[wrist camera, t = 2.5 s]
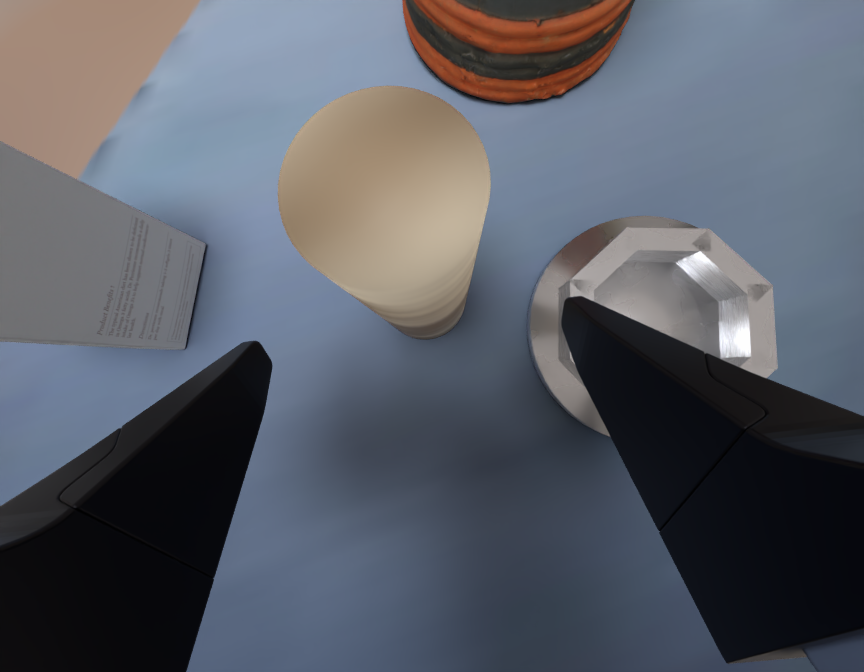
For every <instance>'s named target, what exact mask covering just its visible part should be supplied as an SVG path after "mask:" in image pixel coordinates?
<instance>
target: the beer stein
mask: <svg viewBox="0 0 864 672" xmlns="http://www.w3.org/2000/svg"><path fill="white" fill-rule="evenodd" d="M634 1H635V0H403V13H404V18H405V23H406V27H407V31H408V33H409V36H410V39H411V41H412V43H413V45H414V47H415V48H416V50H417V52H418V53H419V55H420V56H421V58H422V59H423V60H424V62H425V63H426V65H427V66H428V67H429V68H430V69H431V70H432V71H434V72H435V74H436V75H437V76H438V77H439V78H440V80H442V81H443V82H445V83H446V84H447V85H449V86H451V87H453V88H456V89H458V90H460V91H462V92H463V93H467V94H470V95H473V96H476V97H480V98H482V99H485V100H490V101H498V102H504V103H514V102H515V103H517V102H524V101H528V100H533V99H545V98H548V97H551V96H552V95H555V96H556V95H562V94H563V93H565V92H566V91H567V89H571V88H572V87H574V86H576V85H577V84H578V83H579V82H581V81H582V80H584V79H586V78H588V77H590V76H591V75H592V74H593V73H594V72H595V71H596V70H598V69H599V67H600V66H601V64H602V63H603V62H604V61H605V59H606V58H607V57H608V56H609V54H610V52H611V51H612V49H613V47H614V45H615V44H616V42H617V40H618V39H619V37H620V35H621V32H622V29H623V28H624V26H625V24H626V22H627V21H628V19H629V16H630V11H631V8H632V6H633V3H634Z"/></svg>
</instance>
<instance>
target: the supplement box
mask: <svg viewBox="0 0 864 672" xmlns="http://www.w3.org/2000/svg"><path fill="white" fill-rule="evenodd" d="M205 246H206V245H205V243H203V242H201V241H199V240H197V239H195V238H193V237H191V236H189V235H187V234H185V233H183V232H181V231H179V230H177V229H175V228H173V227H171V226H169V225H167V224H165V223H163V222H161V221H159V220H157V219H155V218H153V217H151V216H149V215H147V214H145V213H143V212H141V211H139V210H137V209H135V208H133V207H131V206H129V205H127V204H125V203H123V202H121V201H119V200H117V199H115V198H113V197H111V196H109V195H107V194H105V193H103V192H101V191H99V190H97V189H95V188H93V187H91V186H89V185H87V184H85V183H83V182H81V181H79V180H77V179H75V178H73V177H71V176H69V175H67V174H65V173H63V172H61V171H59V170H57V169H55V168H53V167H51V166H49V165H47V164H45V163H43V162H41V161H39V160H37V159H35V158H33V157H31V156H29V155H27V154H25V153H23V152H21V151H19V150H17V149H15V148H13V147H11V146H9V145H7V144H5V143H3V142H1V141H0V341H1V342H20V343H39V344H56V345H77V346H96V347H117V348H140V349H166V350H183V349H185V346H186V341H187V335H188V330H189V325H190V320H191V315H192V310H193V305H194V300H195V295H196V290H197V285H198V280H199V275H200V271H201V266H202V261H203V255H204V251H205Z"/></svg>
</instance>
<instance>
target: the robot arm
mask: <svg viewBox="0 0 864 672" xmlns="http://www.w3.org/2000/svg"><path fill="white" fill-rule="evenodd" d="M561 326H562V330H563V333H564V336H565V338H566V341H567V344H568V347H569V349H570V352H571V355H572V358H573V361H574V363H575V366H576V369H577V371H578V373H579V376H580V378H581V380H582V382H583V384H584V386H585V388H586V390H587V391H588V393H589V395H590V397H591V399H592V401H593V403H594V405H595V407H596V409H597V411H598V413H599V415H600V417H601V419H602V421H603V423H604V425H605V427H606V429H607V431H608V433H609V435H610V437H611V439H612V441H613V443H614V445H615V446H616V448H617V450H618V452H619V454H620V456H621V458H622V460H623V462H624V464H625V466H626V468H627V470H628V472H629V474H630V476H631V478H632V480H633V482H634V484H635V486H636V488H637V490H638V492H639V494H640V496H641V498H642V499H643V501H644V503H645V505H646V507H647V509H648V511H649V513H650V515H651V517H652V519H653V521H654V523H655V525H656V527H657V529H658V530H659V531H660V532H659V533H660V535H661V537H662V539H663V541H664V543H665V545H666V547H667V549H668V551H669V553H670V555H671V557H672V559H673V561H674V563H675V565H676V567H677V569H678V571H679V573H680V575H681V577H682V578H683V580H684V582H685V584H686V586H687V588H688V590H689V592H690V594H691V596H692V598H693V600H694V602H695V604H696V606H697V608H698V610H699V612H700V614H701V616H702V618H703V620H704V622H705V624H706V626H707V628H708V630H709V632H710V633H711V635H712V637H713V639H714V641H715V643H716V645H717V647H718V649H719V651H720V653H721V655H722V656H723V658H724V660H725V661H726V663H728V664H731V663H743V662H754V661H766V660H777V659H789V658H800V657H807V658H808V659H809V661H810V662H811V663H812V665H813V666H814V668H815V669H816V671H817V672H864V416H862V415H859V414H856V413H854V412H851V411H849V410H846V409H844V408H841V407H838V406H836V405H833V404H831V403H828V402H826V401H823V400H820V399H818V398H815V397H813V396H810V395H808V394H805V393H802V392H800V391H797V390H795V389H792V388H790V387H787V386H784V385H782V384H779V383H777V382H774V381H772V380H769V379H767V378H764V377H762V376H759V375H757V374H754V373H752V372H749V371H747V370H745V369H743V368H740V367H738V366H736V365H733V364H731V363H729V362H726V361H724V360H722V359H720V358H718V357H715V356H713V355H711V354H709V353H704V351H702V350H700V349H698V348H695V347H693V346H691V345H689V344H687V343H684V342H682V341H680V340H678V339H676V338H673V337H671V336H669V335H667V334H665V333H662V332H660V331H658V330H656V329H653V328H651V327H649V326H647V325H645V324H642V323H640V322H638V321H636V320H634V319H631V318H629V317H627V316H625V315H623V314H620V313H618V312H616V311H614V310H612V309H609V308H607V307H605V306H603V305H601V304H598V303H596V302H594V301H592V300H589V299H587V298H585V297H583V296H574V297H568V298H566V299H565V301H564V307H563V313H562V319H561ZM271 372H272V362H271V359H270V358H269V356H268V355H267V353H266V351H265V350H264V348H263V347H262V345H261V344H260V343H259V342H258V341H249V342H243V343H241V344H240V345H238V346H237V347H235V348H234V349H232V350H231V351H230V352H228V353H227V354H225V355H224V356H222V357H221V358H219V359H218V360H217V361H215V362H214V363H212V364H211V365H209V366H208V367H207V368H205V369H204V370H202V371H201V372H199V373H198V374H196V375H195V376H194V377H192V378H191V379H189V380H188V381H186V382H185V383H184V384H182V385H181V386H179V387H178V388H176V389H175V390H173V391H172V392H171V393H169V394H168V395H166V396H165V397H163V398H162V399H161V400H159V401H158V402H156V403H155V404H153V405H152V406H150V407H149V408H148V409H146V410H145V411H143V412H142V413H140V414H139V415H138V416H136V417H135V418H133V419H132V420H130V421H129V422H128V423H126V424H125V425H123V426H122V428H119V429H117V430H116V431H114V432H113V433H112V434H110V435H109V436H107V437H106V438H104V439H103V440H101V441H100V442H99V443H97V444H96V445H94V446H93V447H91V448H90V449H88V450H87V451H85V452H84V453H82V454H81V455H79V456H78V457H76V458H75V459H73V460H72V461H70V462H69V463H67V464H66V465H64V466H63V467H61V468H59V469H58V470H56V471H55V472H53V473H52V474H50V475H49V476H47V477H46V478H44V479H42V480H41V481H39V482H38V483H36V484H35V485H33V486H31V487H30V488H28V489H27V490H25V491H24V492H22V493H20V494H19V495H17V496H16V497H14V498H13V499H11V500H9V501H8V502H6V503H5V504H3V505H2V506H0V672H186V671H187V667H188V664H189V661H190V657H191V654H192V651H193V647H194V644H195V641H196V637H197V634H198V631H199V628H200V624H201V621H202V618H203V614H204V611H205V608H206V604H207V601H208V598H209V594H210V591H211V588H212V584H213V581H214V579H213V578H214V577H215V574H216V571H217V567H218V564H219V561H220V557H221V554H222V551H223V547H224V544H225V541H226V537H227V534H228V531H229V527H230V524H231V521H232V518H233V514H234V511H235V508H236V504H237V501H238V498H239V494H240V491H241V488H242V484H243V481H244V478H245V474H246V471H247V468H248V465H249V461H250V458H251V455H252V451H253V448H254V445H255V441H256V438H257V435H258V431H259V428H260V425H261V421H262V418H263V414H264V410H265V406H266V400H267V395H268V389H269V384H270V378H271Z"/></svg>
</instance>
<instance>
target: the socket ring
mask: <svg viewBox="0 0 864 672" xmlns="http://www.w3.org/2000/svg"><path fill="white" fill-rule="evenodd" d="M574 296H583V297H585V298H587V299H589V300H592V301H594V302H596V303H598V304H601V305H603V306H605V307H607V308H609V309H612V310H614V311H616V312H618V313H620V314H623V315H625V316H627V317H629V318H631V319H634V320H636V321H638V322H640V323H642V324H645V325H647V326H649V327H651V328H653V329H656V330H658V331H660V332H662V333H665V334H667V335H669V336H671V337H673V338H676V339H678V340H680V341H682V342H684V343H687V344H689V345H691V346H693V347H695V348H698V349H700V350H702V351H704V353H709V354H711V355H713V356H715V357H718V358H720V359H722V360H724V361H726V362H729V363H731V364H733V365H736V366H738V367H740V368H743V369H745V370H747V371H749V372H752V373H754V374H757V375H759V376H762V377H764V378H767V377H768V376H769V375H770V374H771V373H772V372H773V371H775V370H776V369H778V366H777V350H776V334H775V318H774V302H773V285H772V284H770V283H769V282H768V281H767V280H766V279H765V278H764V277H762V276H761V275H760V274H759V273H758V272H757V271H756V270H755V269H754V268H752V267H751V266H750V265H749V264H748V263H747V262H746V261H745V260H744V259H742V258H741V257H740V256H739V255H738V254H737V253H736V252H735V251H733V250H732V249H731V248H730V247H729V246H728V245H727V244H726V243H725V242H723V241H722V240H721V239H720V238H719V237H718V236H717V235H716V234H714V233H713V232H712V231H711V230H710V229H709V228H708V229H699V228H697V227H695V226H693V225H690V224H687V223H684V222H681V221H678V220H674V219H668V218H663V217H653V216H635V217H626V218H620V219H615V220H612V221H609V222H605V223H602V224H600V225H598V226H595V227H593V228H591V229H589V230H587V231H585V232H584V233H582V234H580V235H579V236H577V237H576V238H574V239H573V240H572V241H571V242H569V243H568V244H567V245H566V246H565V247H564V248H563V249H562V250H561V251H560V252H559V253H558V254H557V255H556V256H555V257H554V258H553V259H552V260H551V261H550V263H549V264H548V265H547V267H546V268H545V270H544V271H543V272H542V274H541V276H540V278H539V280H538V281H537V283H536V285H535V288H534V291H533V293H532V296H531V299H530V304H529V308H528V315H527V340H528V345H529V351H530V355H531V358H532V361H533V364H534V367H535V369H536V371H537V373H538V375H539V378H540V380H541V381H542V383H543V384H544V386H545V388H546V389H547V391H548V392H549V394H550V395H551V396H552V397H553V398H554V399H555V401H556V402H557V403H558V404H559V405H560V406H561V407H562V408H563V409H564V410H565V411H566V412H567V413H569V414H570V415H571V416H572V417H574V418H575V419H577V420H578V421H579V422H581V423H582V424H584V425H586V426H588V427H590V428H591V429H593V430H595V431H597V432H600V433H602V434H604V435H607V436H609V437H610V435H609V433H608V431H607V429H606V427H605V425H604V423H603V421H602V419H601V417H600V415H599V413H598V411H597V409H596V407H595V405H594V403H593V401H592V399H591V397H590V395H589V393H588V391H587V390H586V388H585V386H584V384H583V382H582V380H581V378H580V376H579V373H578V371H577V369H576V366H575V363H574V361H573V358H572V355H571V352H570V349H569V347H568V344H567V341H566V338H565V336H564V333H563V330H562V326H561V319H562V313H563V307H564V301H565V299H566V298H568V297H574Z"/></svg>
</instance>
